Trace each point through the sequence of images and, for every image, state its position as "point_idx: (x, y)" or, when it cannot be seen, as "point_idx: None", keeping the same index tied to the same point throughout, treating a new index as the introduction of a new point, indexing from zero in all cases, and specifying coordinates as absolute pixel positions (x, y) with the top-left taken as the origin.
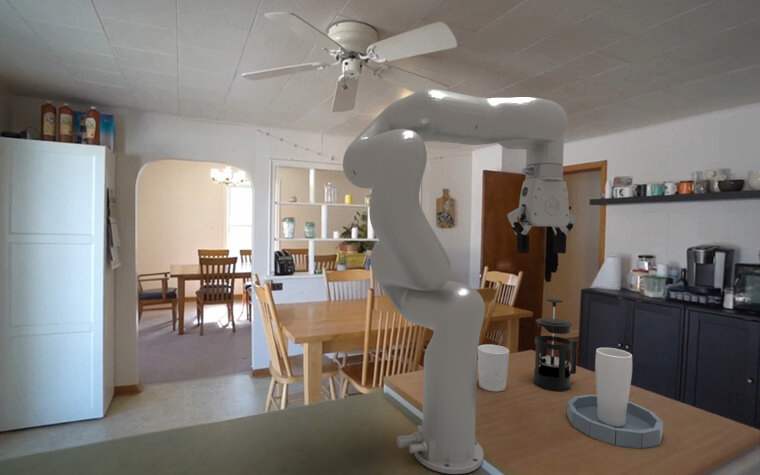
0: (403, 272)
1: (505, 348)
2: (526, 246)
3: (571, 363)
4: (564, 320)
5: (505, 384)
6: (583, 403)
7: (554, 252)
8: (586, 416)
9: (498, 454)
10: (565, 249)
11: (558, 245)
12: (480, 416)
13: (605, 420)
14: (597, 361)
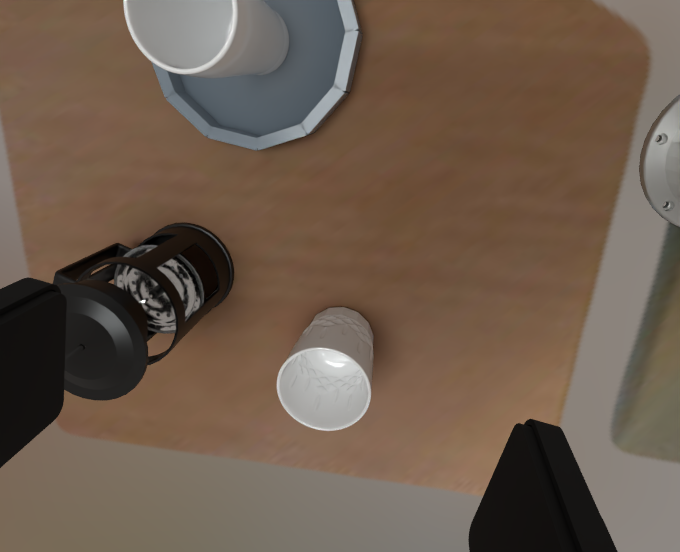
0: None
1: (281, 376)
2: (579, 480)
3: (102, 265)
4: None
5: (321, 314)
6: (243, 132)
7: (56, 400)
8: (289, 92)
9: (625, 94)
10: (9, 288)
11: (3, 393)
12: (504, 241)
13: (288, 35)
14: (244, 47)
